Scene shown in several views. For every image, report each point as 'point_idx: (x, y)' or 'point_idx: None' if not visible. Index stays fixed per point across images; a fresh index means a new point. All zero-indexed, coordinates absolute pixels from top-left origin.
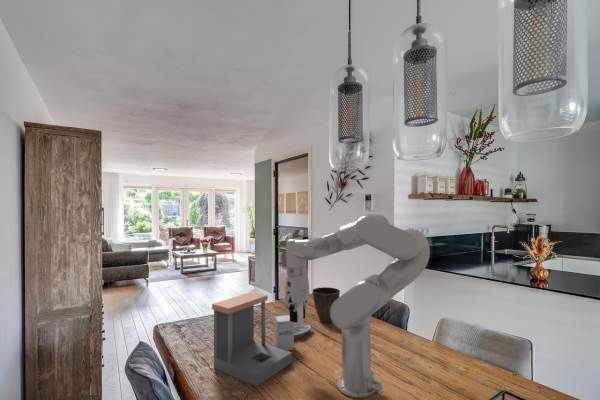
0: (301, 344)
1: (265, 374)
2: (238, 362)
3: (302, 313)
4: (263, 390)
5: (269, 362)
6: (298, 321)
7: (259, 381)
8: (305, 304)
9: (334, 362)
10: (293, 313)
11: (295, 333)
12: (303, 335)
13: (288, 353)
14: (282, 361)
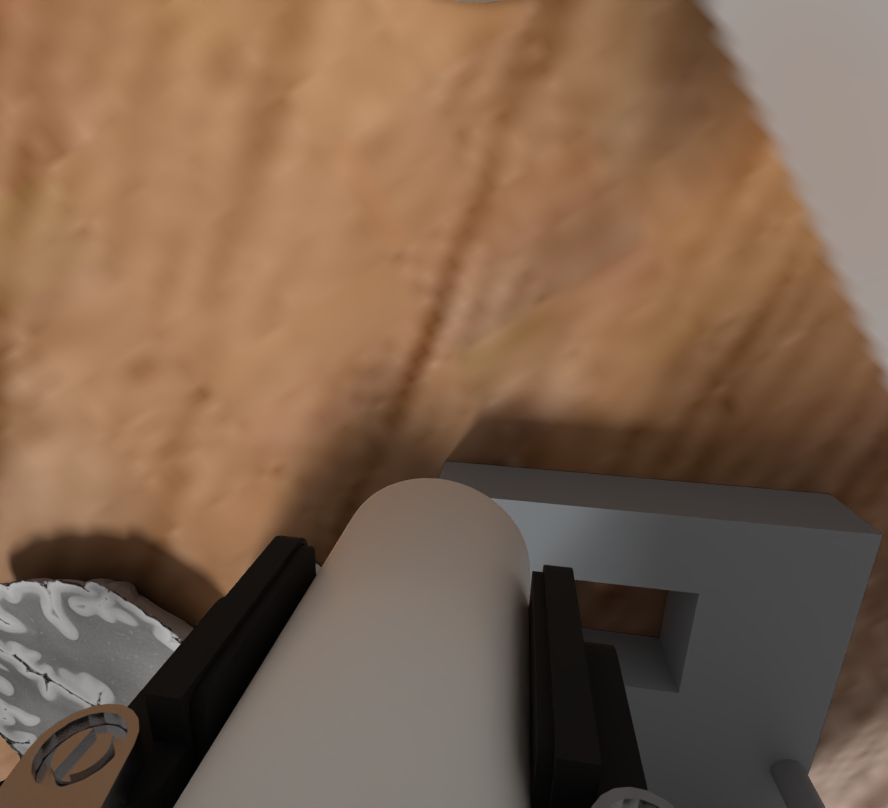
0: (199, 534)
1: (748, 503)
2: (771, 724)
3: (370, 611)
4: (854, 428)
5: (664, 549)
6: (501, 558)
7: (807, 499)
8: (24, 783)
9: (265, 200)
10: (642, 781)
11: (140, 628)
12: (101, 580)
13: None
14: (552, 492)
